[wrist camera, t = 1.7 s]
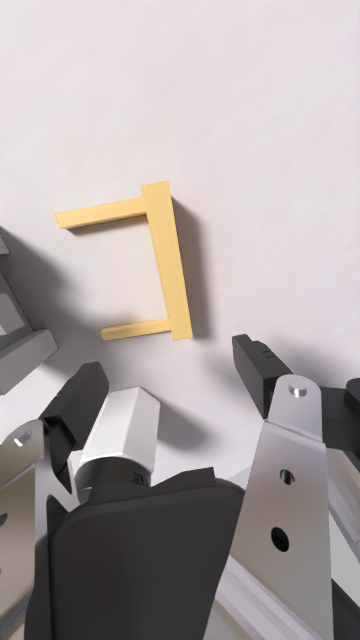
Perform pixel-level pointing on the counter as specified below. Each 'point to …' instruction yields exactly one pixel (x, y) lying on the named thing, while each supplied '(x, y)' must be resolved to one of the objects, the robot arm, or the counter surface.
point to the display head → (18, 338)
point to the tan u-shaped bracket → (166, 253)
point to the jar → (121, 443)
